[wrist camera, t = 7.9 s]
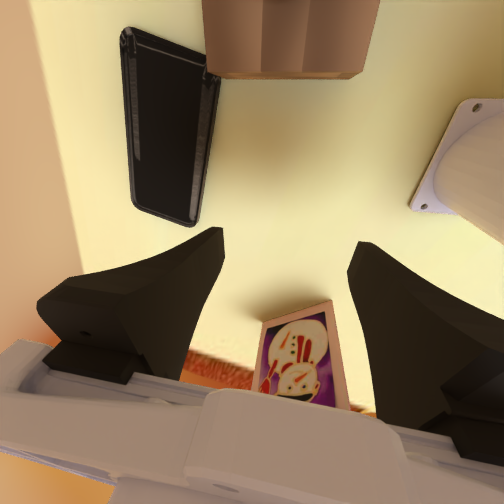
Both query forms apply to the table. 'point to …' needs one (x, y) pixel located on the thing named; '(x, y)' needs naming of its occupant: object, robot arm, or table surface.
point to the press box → (287, 38)
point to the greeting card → (302, 358)
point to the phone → (167, 124)
